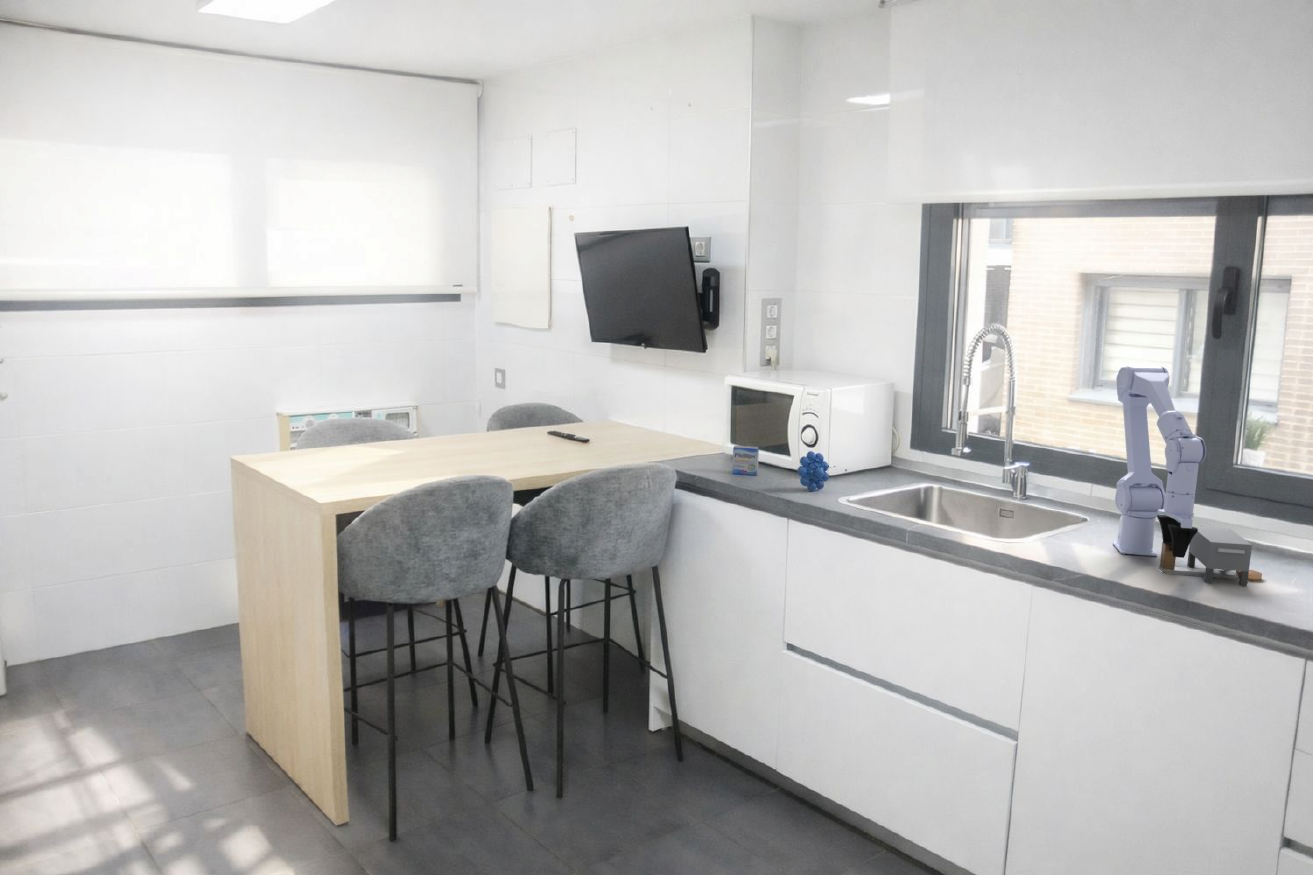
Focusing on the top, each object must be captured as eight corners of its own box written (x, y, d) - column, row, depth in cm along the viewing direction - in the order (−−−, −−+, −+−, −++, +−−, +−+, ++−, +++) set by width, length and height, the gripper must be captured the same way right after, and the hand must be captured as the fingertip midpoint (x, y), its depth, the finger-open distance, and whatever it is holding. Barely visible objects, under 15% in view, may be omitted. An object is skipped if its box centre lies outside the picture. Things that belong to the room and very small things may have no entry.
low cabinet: (1187, 564, 233) (1191, 526, 232) (1225, 567, 232) (1230, 528, 230) (1207, 583, 219) (1211, 542, 217) (1248, 587, 217) (1253, 545, 216)
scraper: (1158, 569, 229) (1162, 541, 228) (1233, 575, 226) (1236, 547, 225) (1162, 573, 227) (1165, 545, 225) (1238, 579, 223) (1241, 550, 222)
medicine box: (731, 474, 323) (732, 447, 321) (733, 471, 327) (734, 444, 326) (757, 475, 322) (758, 448, 320) (758, 473, 326) (759, 446, 325)
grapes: (806, 496, 294) (808, 454, 292) (791, 491, 300) (793, 451, 298) (837, 492, 301) (839, 451, 299) (821, 487, 306) (823, 448, 304)
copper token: (1231, 574, 227) (1232, 568, 227) (1256, 576, 226) (1257, 569, 226) (1239, 581, 223) (1240, 574, 222) (1264, 583, 222) (1265, 576, 221)
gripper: (1152, 483, 232) (1146, 542, 235) (1169, 497, 218) (1162, 559, 221) (1186, 486, 231) (1179, 544, 233) (1205, 500, 217) (1198, 562, 219)
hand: (1173, 552), depth 227 cm, fingers open, 7 cm apart
